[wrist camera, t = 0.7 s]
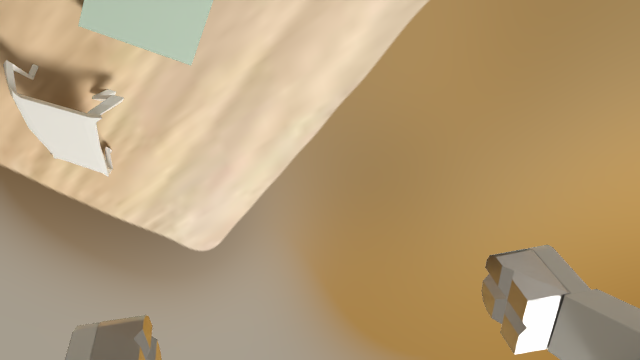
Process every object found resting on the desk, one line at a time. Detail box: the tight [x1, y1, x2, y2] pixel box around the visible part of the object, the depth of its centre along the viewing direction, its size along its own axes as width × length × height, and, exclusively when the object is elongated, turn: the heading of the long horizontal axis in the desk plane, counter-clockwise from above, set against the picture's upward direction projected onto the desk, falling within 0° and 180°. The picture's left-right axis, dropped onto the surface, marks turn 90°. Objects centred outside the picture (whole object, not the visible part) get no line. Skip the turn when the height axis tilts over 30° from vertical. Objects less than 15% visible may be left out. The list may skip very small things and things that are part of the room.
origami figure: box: [3, 60, 124, 176], centre depth 45 cm, size 12×8×5 cm
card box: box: [79, 0, 213, 65], centre depth 41 cm, size 6×9×4 cm, turn 65°
